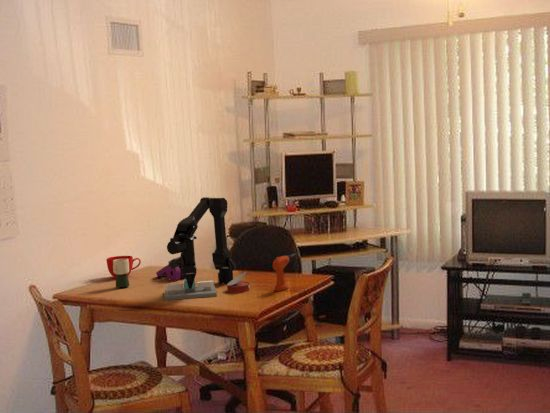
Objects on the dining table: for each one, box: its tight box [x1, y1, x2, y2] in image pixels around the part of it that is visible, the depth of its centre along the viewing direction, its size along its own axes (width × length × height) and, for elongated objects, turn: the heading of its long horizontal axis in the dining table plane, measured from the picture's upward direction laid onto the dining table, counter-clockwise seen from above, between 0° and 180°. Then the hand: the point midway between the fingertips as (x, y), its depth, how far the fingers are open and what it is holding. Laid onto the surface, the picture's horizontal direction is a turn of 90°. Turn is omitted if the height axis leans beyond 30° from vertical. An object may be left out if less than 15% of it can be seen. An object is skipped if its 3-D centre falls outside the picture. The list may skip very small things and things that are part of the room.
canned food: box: [226, 271, 251, 294], centre depth 315 cm, size 11×10×10 cm
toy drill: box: [272, 252, 297, 292], centre depth 316 cm, size 5×19×15 cm, turn 149°
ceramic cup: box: [106, 255, 142, 279], centre depth 363 cm, size 13×17×10 cm
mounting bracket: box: [155, 263, 186, 282], centre depth 353 cm, size 10×8×18 cm
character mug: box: [113, 259, 130, 289], centre depth 335 cm, size 11×7×13 cm, turn 153°
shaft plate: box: [163, 280, 218, 301], centre depth 312 cm, size 22×16×5 cm
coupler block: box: [183, 278, 197, 292], centre depth 312 cm, size 5×4×5 cm
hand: (189, 286), depth 312 cm, fingers open, 9 cm apart
